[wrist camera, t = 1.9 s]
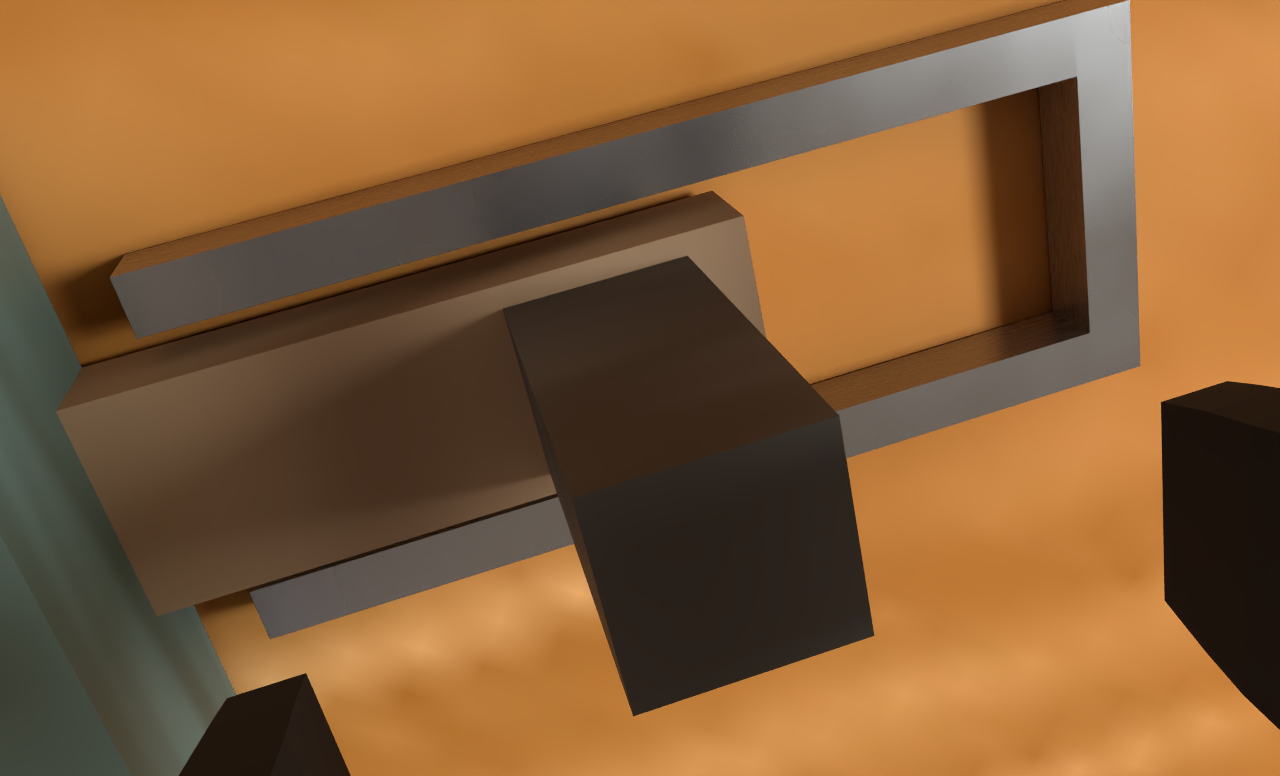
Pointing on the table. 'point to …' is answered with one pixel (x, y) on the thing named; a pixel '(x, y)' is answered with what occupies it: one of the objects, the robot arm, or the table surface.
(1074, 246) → the track
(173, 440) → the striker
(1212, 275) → the table surface
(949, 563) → the table surface
